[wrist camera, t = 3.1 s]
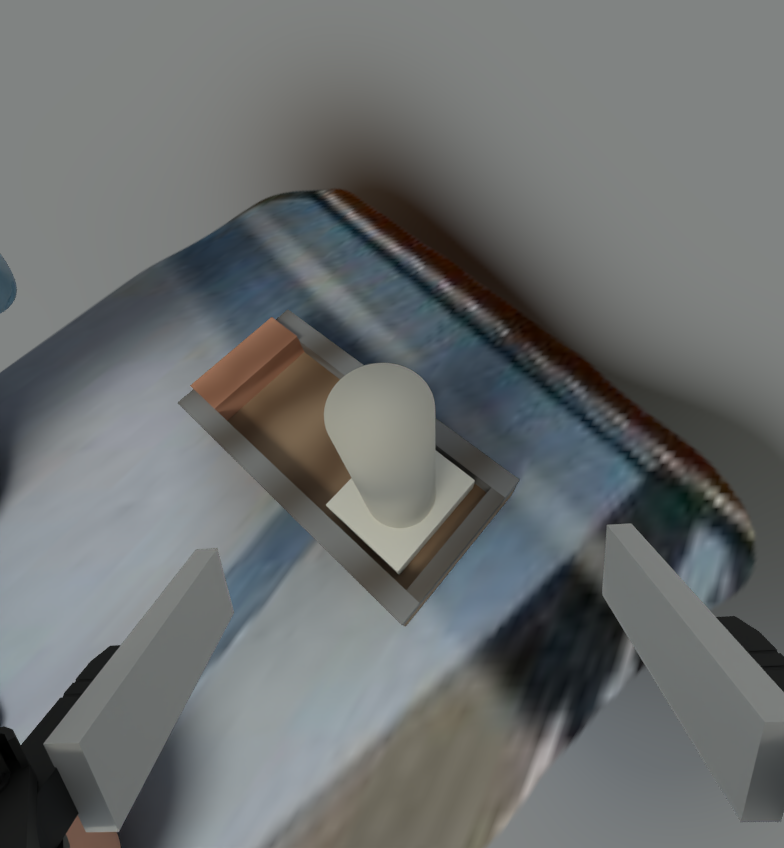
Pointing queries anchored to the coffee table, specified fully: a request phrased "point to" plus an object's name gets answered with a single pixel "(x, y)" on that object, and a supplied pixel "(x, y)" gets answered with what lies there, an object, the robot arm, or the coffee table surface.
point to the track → (329, 455)
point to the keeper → (391, 461)
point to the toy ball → (90, 837)
